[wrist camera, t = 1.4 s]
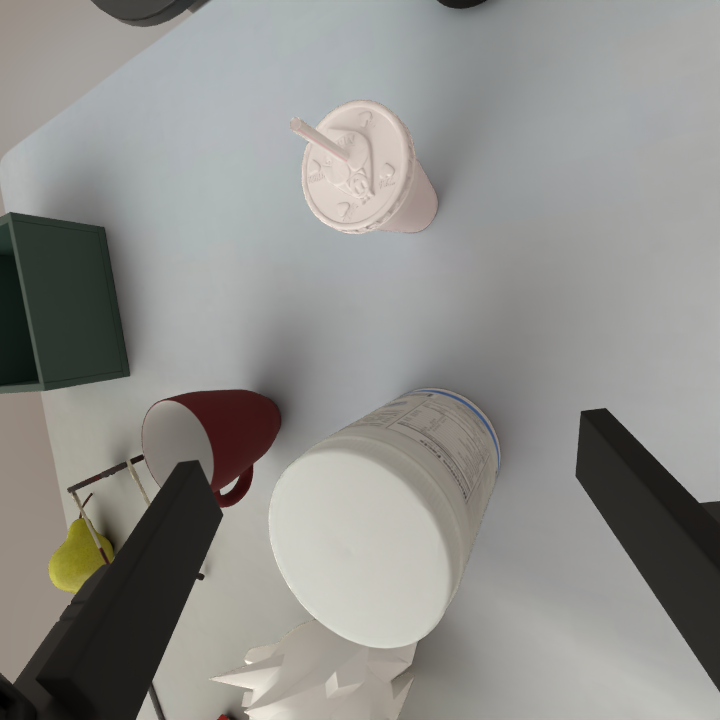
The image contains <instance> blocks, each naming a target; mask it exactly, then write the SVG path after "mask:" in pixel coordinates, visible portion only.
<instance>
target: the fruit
mask: <svg viewBox="0 0 720 720" xmlns="http://www.w3.org/2000/svg"><path fill="white" fill-rule="evenodd" d="M92 495H93V494H92V493H91V494H90V495H89V496H88V498H87V499H86V500H85V502H84V504H83V506H82V508H83V507H84V506H85V504H86V503H87V502H88V500H89V498H90V497H91V496H92ZM88 520H89V519H88ZM89 522H90V524H91V526H92V523H91V521H90V520H89ZM92 528H93V526H92ZM93 530H94V532H95V534H96V536H97V538H98V540H99V543H100V545H101V547H102V548H103V550H104V552H105V554H106V556H107V558H108V560H109V562H110V564H111V563H112V561H113V548H112V545H111V543H110V542H109V541H108V540H107V539H106V538H105V537H104V536H102V535H100V534H99V533H98V532H96V530H95V529H94V528H93ZM104 564H106V563H105V561H104V559H103V557H102V555H101V553H100V551H99V549H98V547H97V545H96V543H95V541H94V538H93V536H92V534H91V532H90V530H89V528H88V526H87V524H86V521H85V519H84V518H82V514H81V512H80V515H79V519H77V520H75V521H74V522H73V523H72V525H71V526H70V528H69V532H68V537H67V539H66V541H65V542H64V543H63V544H62V545H61V546H60V548H59V549H58V550H57V551H56V552H55V553H54V554H53V556H52V557H51V560H50V562H49V569H48V570H49V576H50V578H51V580H52V582H53V584H54V585H55V586H56V587H58V588H59V589H61V590H64V591H68V592H71V593H77V592H78V590H79V589H80V588H81V586H82V585H83V583H84V582H85V581H86V580H87V579H88V578H89V577H90V576H91V575H92V574H93V573H94V572H95V571H96V570H97V569H98V568H99V567H101V566H102V565H104Z"/></svg>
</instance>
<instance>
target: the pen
mask: <svg viewBox="0 0 720 720" xmlns="http://www.w3.org/2000/svg"><path fill="white" fill-rule="evenodd" d="M148 691H149V694H150V697H151V699H152V702H153V705H154V708H155V711H156V714H157V716H158V719H159V720H164V719H163V716H162V713H161V711H160V708H159V705H158V702H157V699H156V696H155V694H154V691H153V688H152V685H150V687H149V690H148Z"/></svg>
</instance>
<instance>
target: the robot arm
mask: <svg viewBox="0 0 720 720" xmlns="http://www.w3.org/2000/svg"><path fill="white" fill-rule="evenodd" d="M576 477H577V479H578V480H579V482H580V483H581V485H582V486H583V488H584V489H585V491H586V492H587V494H588V495H589V497H590V498H591V500H592V501H593V503H594V504H595V506H596V507H597V509H598V510H599V512H600V513H601V515H602V516H603V518H604V519H605V521H606V522H607V524H608V525H609V527H610V528H611V530H612V531H613V533H614V534H615V536H616V537H617V539H618V540H619V542H620V543H621V545H622V546H623V548H624V549H625V551H626V552H627V554H628V555H629V557H630V558H631V560H632V561H633V563H634V564H635V566H636V567H637V569H638V570H639V572H640V573H641V575H642V576H643V578H644V579H645V581H646V582H647V584H648V585H649V587H650V588H651V590H652V591H653V593H654V594H655V596H656V597H657V599H658V600H659V602H660V603H661V605H662V606H663V608H664V609H665V611H666V612H667V614H668V615H669V617H670V618H671V620H672V621H673V623H674V624H675V626H676V627H677V629H678V630H679V632H680V633H681V635H682V636H683V638H684V639H685V641H686V642H687V644H688V645H689V647H690V648H691V650H692V651H693V653H694V654H695V656H696V657H697V659H698V660H699V662H700V663H701V665H702V666H703V668H704V669H705V671H706V672H707V674H708V675H709V677H710V678H711V680H712V681H713V683H714V684H715V686H716V687H717V689H718V690H719V692H720V501H717V502H707V503H699V502H698V501H697V500H696V499H695V498H694V497H693V496H692V495H691V494H690V493H689V492H688V491H687V490H686V489H685V488H684V487H683V486H682V485H681V484H680V483H679V482H678V481H677V480H676V479H675V478H674V477H673V476H672V475H671V474H670V473H669V472H668V471H667V470H666V469H665V468H664V467H663V466H662V465H661V464H660V463H659V462H658V461H657V460H656V459H655V458H654V457H653V456H652V455H651V454H650V453H649V452H648V451H647V450H646V449H645V447H644V446H643V445H642V444H641V443H640V442H639V441H638V440H637V439H636V438H635V437H634V436H633V435H632V434H631V433H630V432H629V431H628V430H627V429H626V428H625V427H624V426H623V425H622V424H621V423H620V422H619V421H618V420H617V419H616V418H615V417H614V416H613V415H612V414H611V413H610V412H609V411H608V410H607V409H606V408H602V409H594V410H586V411H581V416H580V428H579V441H578V453H577V465H576ZM222 517H223V513H222V511H221V509H220V507H219V504H218V502H217V500H216V498H215V495H214V493H213V491H212V489H211V487H210V484H209V482H208V480H207V478H206V475H205V473H204V471H203V469H202V467H201V464H200V462H199V460H192V461H184V462H178V463H177V465H176V466H175V468H174V469H173V471H172V472H171V474H170V475H169V477H168V478H167V480H166V481H165V483H164V485H163V486H162V488H161V489H160V491H159V492H158V494H157V495H156V497H155V498H154V500H153V501H152V503H151V504H150V506H149V507H148V509H147V510H146V512H145V513H144V515H143V516H142V518H141V519H140V521H139V522H138V524H137V525H136V527H135V528H134V530H133V531H132V533H131V534H130V536H129V538H128V539H127V541H126V542H125V544H124V545H123V547H122V548H121V550H120V551H119V553H118V554H117V556H116V557H115V559H114V560H113V562H112V563H111V564H104V565H102V566H101V567H99V568H98V569H97V570H96V571H95V572H94V573H93V574H92V575H91V576H90V577H89V578H88V579H87V580H86V581H85V582H84V583H83V585H82V586H81V588H80V589H79V590H78V592H77V593H76V595H75V597H74V598H73V599H72V601H71V604H70V605H68V606H67V608H66V609H65V611H64V612H63V613H62V615H61V616H60V621H59V622H56V624H55V625H54V626H53V628H52V629H51V631H50V632H49V634H48V635H47V636H46V638H45V639H44V641H43V642H42V644H41V645H40V647H39V648H38V649H37V651H36V652H35V654H34V655H33V657H32V658H31V659H30V661H29V662H28V664H27V665H26V667H25V668H24V670H23V671H22V672H21V674H20V675H19V677H18V678H17V680H16V681H15V683H14V684H12V683H10V682H9V681H8V680H7V679H6V678H5V677H4V676H3V675H2V674H1V673H0V720H136V718H137V715H138V713H139V711H140V708H141V706H142V704H143V701H144V699H145V697H146V694H147V692H148V690H149V687H150V685H151V683H152V680H153V678H154V676H155V673H156V671H157V669H158V666H159V664H160V662H161V659H162V657H163V655H164V652H165V650H166V648H167V645H168V643H169V641H170V638H171V636H172V634H173V631H174V629H175V627H176V624H177V622H178V620H179V617H180V615H181V613H182V610H183V608H184V606H185V603H186V601H187V599H188V596H189V594H190V592H191V589H192V587H193V585H194V582H195V580H196V578H197V575H198V573H199V571H200V568H201V566H202V564H203V561H204V559H205V557H206V554H207V552H208V550H209V547H210V545H211V543H212V540H213V538H214V536H215V533H216V531H217V529H218V526H219V524H220V522H221V519H222Z"/></svg>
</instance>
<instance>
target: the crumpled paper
mask: <svg viewBox="0 0 720 720" xmlns="http://www.w3.org/2000/svg"><path fill="white" fill-rule="evenodd" d="M417 642H418V641H416V642H414V643H412V644H409V645H405V646H402V647H396V648H375V647H369V646H365V645H361V644H358V643H356V642H353V641H350V640H348V639H346V638H344V637H342V636H340V635H338V634H336V633H335V632H333V631H332V630H330V629H329V628H327V627H326V626H324V625H323V624H322V623H321V622H319V621H318V620H317V619H315V620H311V621H308V622H306V623H304V624H301V625H299V626H297V627H296V628H294V629H293V630H291V631H290V632H288V633H287V634H286V635H285V636H284V637H283V638H282V639H281V640H280V641H279V642H278V643H277V644H272V645H267V646H262V647H256V648H251V649H249V651H248V653H247V655H246V656H245V658H244V661H245V662H246V663H247V664H248V665H246V666H243V667H241V668H238V669H235V670H232V671H229V672H227V673H224V674H221V675H218V676H216V677H213V678H210V679H209V680H214V681H218V682H223V683H227V684H232V685H236V686H241V687H245V688H250V689H254V690H253V692H244V697H243V702H242V707H249V708H248V709H246V710H245V711H244V712H245V713H246V714H248V715H249V716H250V720H397V718H398V716H399V713H400V711H401V708H402V706H403V703H404V701H405V699H406V696H407V694H408V691H409V689H410V686H411V684H412V681H413V679H414V675H412V674H410V673H408V672H407V673H405V674H404V675H402V676H400V677H398V678H397V679H395V680H393V681H392V682H391V680H392V679H394V678H395V677H396V676H397V675H399V674H400V673H401V672H402V671H404V670H405V669H406V668H408V667H409V666H410V665H411V664H412V661H413V657H414V653H415V649H416V645H417Z"/></svg>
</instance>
